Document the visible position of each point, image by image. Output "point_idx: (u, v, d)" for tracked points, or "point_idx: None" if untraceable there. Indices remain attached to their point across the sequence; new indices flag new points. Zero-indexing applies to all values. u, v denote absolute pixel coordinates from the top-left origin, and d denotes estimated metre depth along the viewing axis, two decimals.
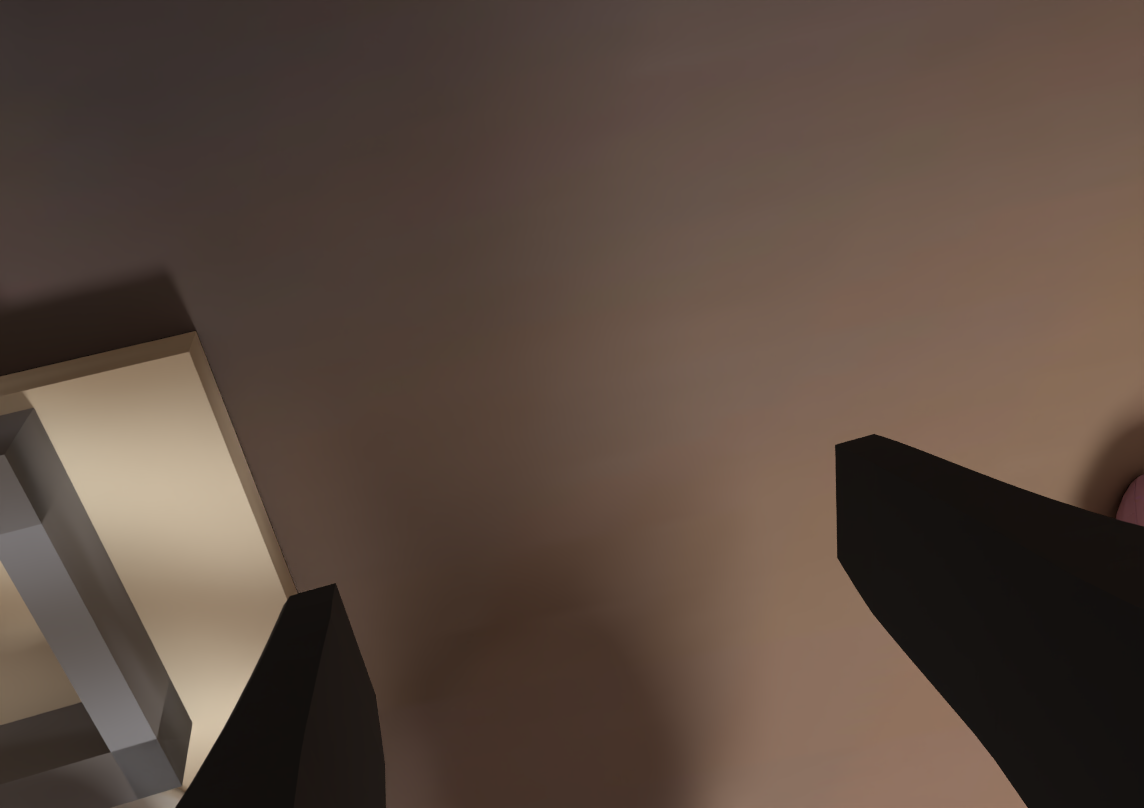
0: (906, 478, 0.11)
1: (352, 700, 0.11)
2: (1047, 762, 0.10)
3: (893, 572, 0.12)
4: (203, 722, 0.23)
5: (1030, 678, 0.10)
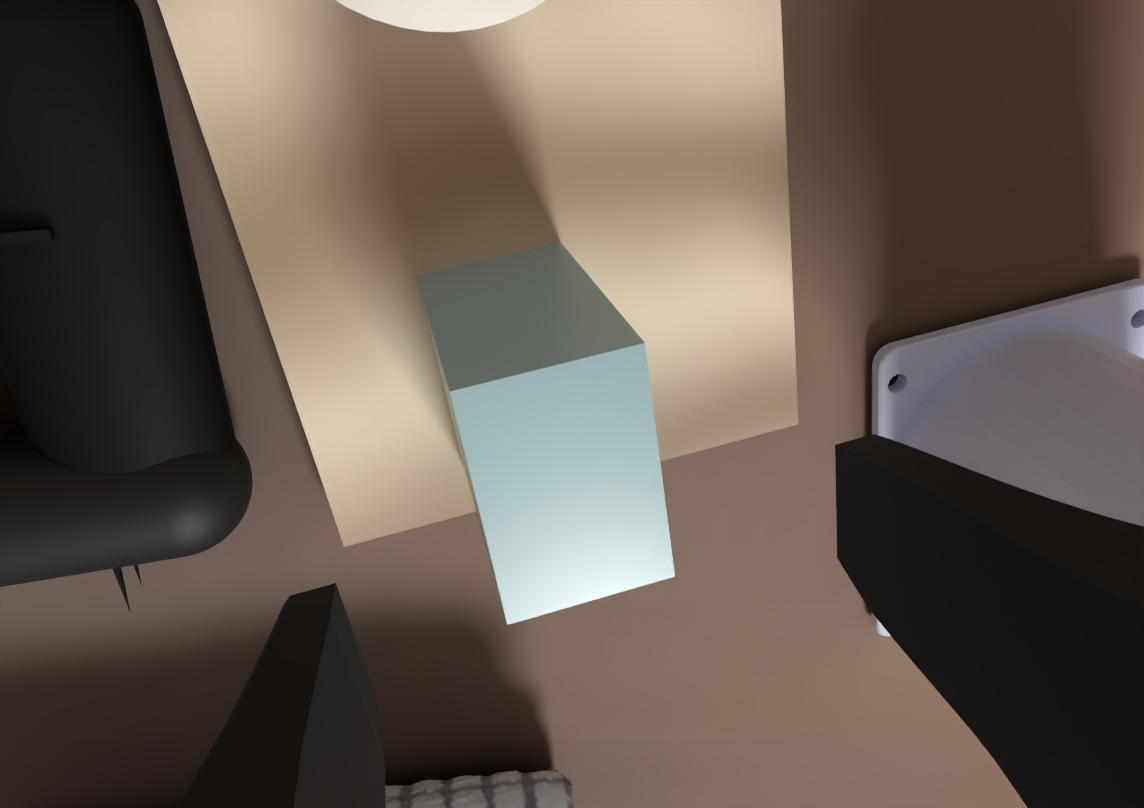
0: (906, 478, 0.11)
1: (352, 700, 0.11)
2: (1047, 762, 0.10)
3: (893, 573, 0.12)
4: None
5: (1030, 678, 0.10)
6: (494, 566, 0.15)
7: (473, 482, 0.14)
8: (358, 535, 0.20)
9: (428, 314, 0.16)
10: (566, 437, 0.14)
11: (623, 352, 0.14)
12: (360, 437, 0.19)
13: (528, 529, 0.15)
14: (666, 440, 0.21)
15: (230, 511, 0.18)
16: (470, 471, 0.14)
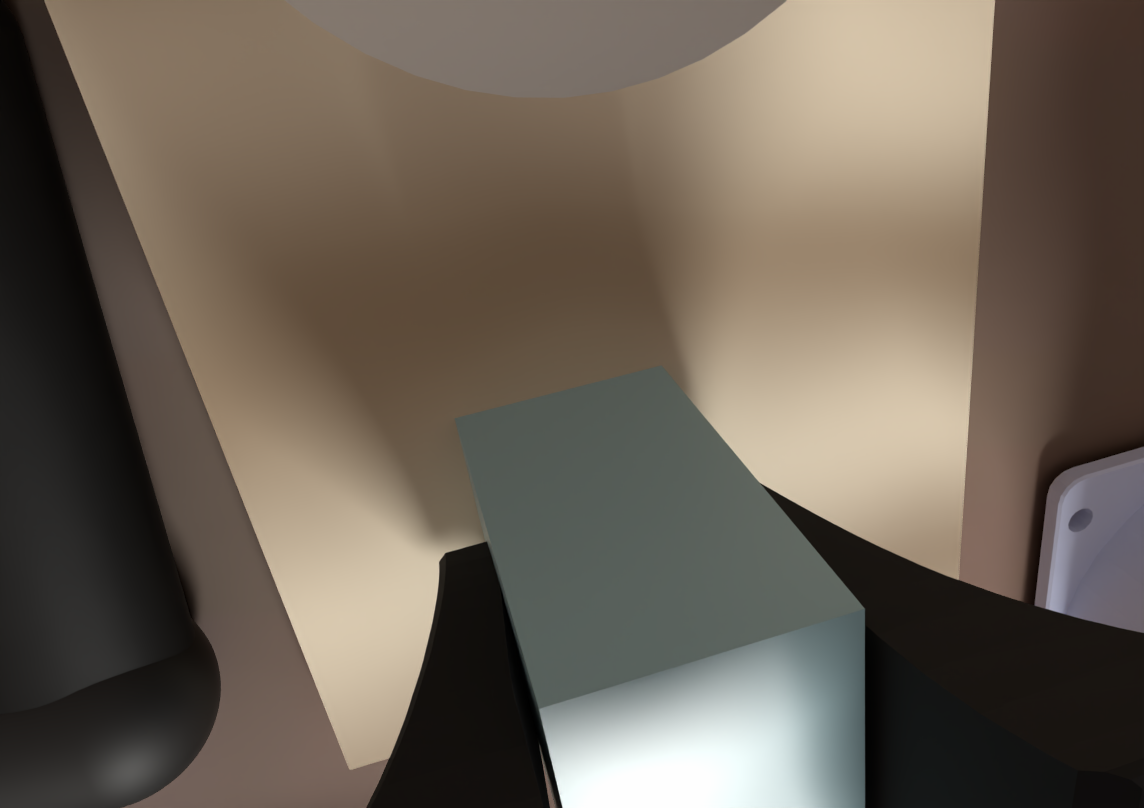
0: None
1: (516, 652, 0.11)
2: None
3: None
4: None
5: None
6: None
7: None
8: (368, 755, 0.15)
9: (481, 503, 0.10)
10: (724, 752, 0.08)
11: (827, 624, 0.08)
12: (372, 633, 0.14)
13: None
14: None
15: (186, 744, 0.12)
16: None
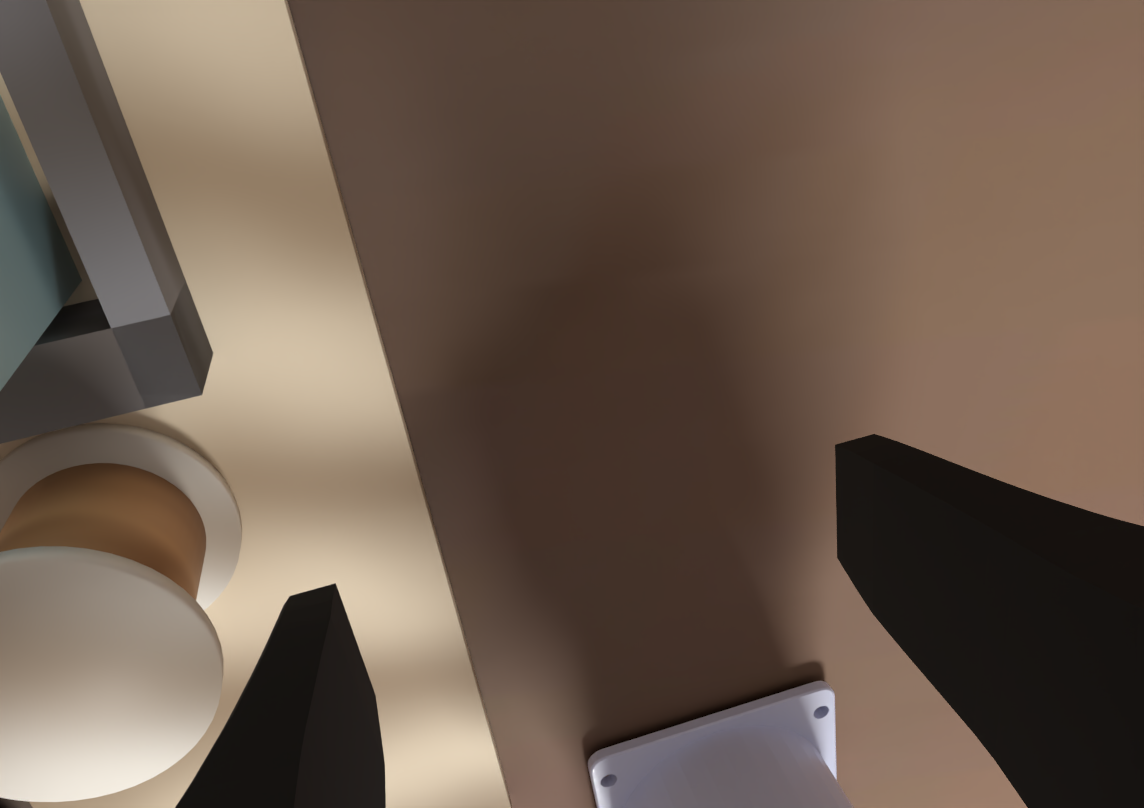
0: (906, 478, 0.11)
1: (352, 700, 0.11)
2: (1047, 762, 0.10)
3: (893, 573, 0.12)
4: (226, 354, 0.18)
5: (1030, 677, 0.10)
6: None
7: None
8: None
9: None
10: None
11: None
12: None
13: None
14: None
15: None
16: None
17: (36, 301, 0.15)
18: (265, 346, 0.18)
